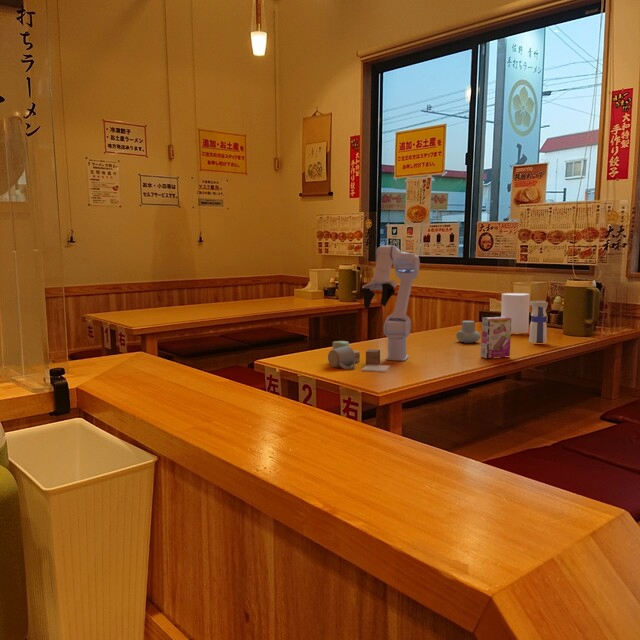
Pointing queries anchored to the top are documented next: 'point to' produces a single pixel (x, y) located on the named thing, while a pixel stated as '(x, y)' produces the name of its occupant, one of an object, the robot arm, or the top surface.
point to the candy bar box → (495, 337)
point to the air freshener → (468, 332)
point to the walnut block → (372, 357)
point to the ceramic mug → (342, 358)
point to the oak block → (357, 356)
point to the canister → (516, 311)
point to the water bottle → (538, 322)
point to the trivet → (376, 368)
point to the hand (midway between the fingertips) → (374, 306)
